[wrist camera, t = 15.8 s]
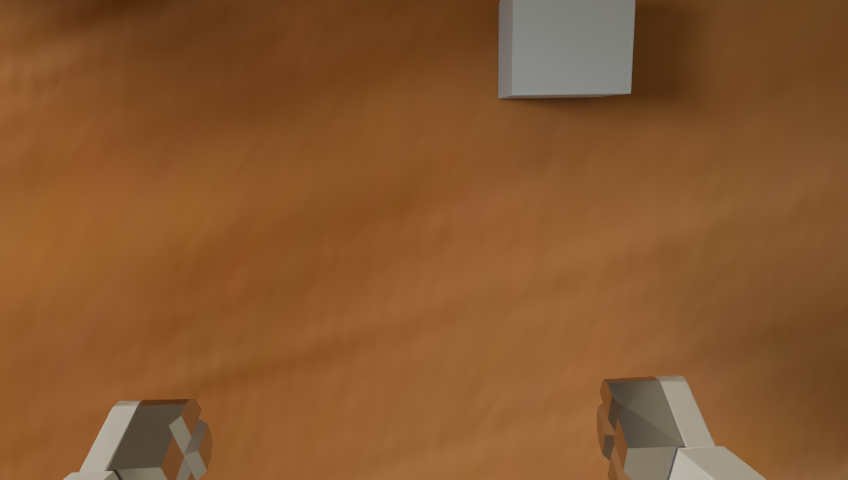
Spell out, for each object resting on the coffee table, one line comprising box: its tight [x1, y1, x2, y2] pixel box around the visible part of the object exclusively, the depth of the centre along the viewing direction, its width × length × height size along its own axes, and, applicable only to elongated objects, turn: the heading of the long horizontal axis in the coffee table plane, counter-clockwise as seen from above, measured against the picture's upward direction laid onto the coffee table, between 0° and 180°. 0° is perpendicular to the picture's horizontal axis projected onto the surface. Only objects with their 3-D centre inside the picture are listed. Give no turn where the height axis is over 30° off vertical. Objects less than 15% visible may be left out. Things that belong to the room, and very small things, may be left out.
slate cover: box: [498, 0, 636, 99], centre depth 34 cm, size 6×6×7 cm
